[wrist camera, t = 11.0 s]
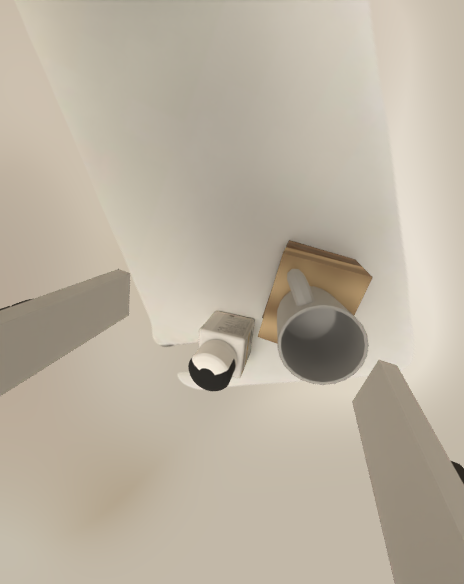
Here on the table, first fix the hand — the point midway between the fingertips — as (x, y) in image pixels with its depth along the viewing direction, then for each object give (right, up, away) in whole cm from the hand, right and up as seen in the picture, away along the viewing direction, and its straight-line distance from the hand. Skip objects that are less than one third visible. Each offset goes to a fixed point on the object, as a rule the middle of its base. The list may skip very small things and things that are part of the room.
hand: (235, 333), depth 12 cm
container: (0, -6, +32) cm, 33 cm away
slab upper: (+11, +1, +21) cm, 23 cm away
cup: (+8, +1, +16) cm, 18 cm away
